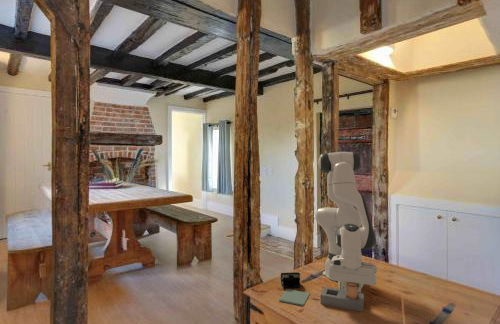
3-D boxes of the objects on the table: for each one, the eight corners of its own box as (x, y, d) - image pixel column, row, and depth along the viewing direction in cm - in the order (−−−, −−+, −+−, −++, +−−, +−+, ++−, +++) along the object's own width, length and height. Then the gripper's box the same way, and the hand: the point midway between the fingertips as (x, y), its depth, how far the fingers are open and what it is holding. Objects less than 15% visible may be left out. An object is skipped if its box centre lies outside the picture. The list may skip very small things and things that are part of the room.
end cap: (299, 282, 158) (298, 270, 157) (301, 288, 150) (300, 275, 150) (280, 283, 158) (280, 270, 158) (282, 289, 151) (281, 276, 150)
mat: (287, 290, 149) (287, 288, 149) (310, 294, 143) (310, 293, 143) (279, 301, 138) (279, 299, 138) (303, 306, 133) (303, 304, 133)
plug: (347, 301, 134) (347, 279, 134) (358, 303, 132) (357, 281, 132) (346, 305, 130) (346, 284, 130) (357, 307, 128) (357, 285, 128)
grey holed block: (324, 296, 141) (324, 286, 141) (364, 304, 133) (363, 293, 133) (320, 305, 133) (320, 294, 133) (362, 313, 125) (362, 302, 125)
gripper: (376, 261, 129) (377, 292, 129) (330, 256, 138) (330, 284, 138) (376, 266, 123) (377, 298, 124) (327, 260, 132) (328, 290, 132)
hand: (352, 291), depth 131 cm, fingers closed on plug, 4 cm apart
